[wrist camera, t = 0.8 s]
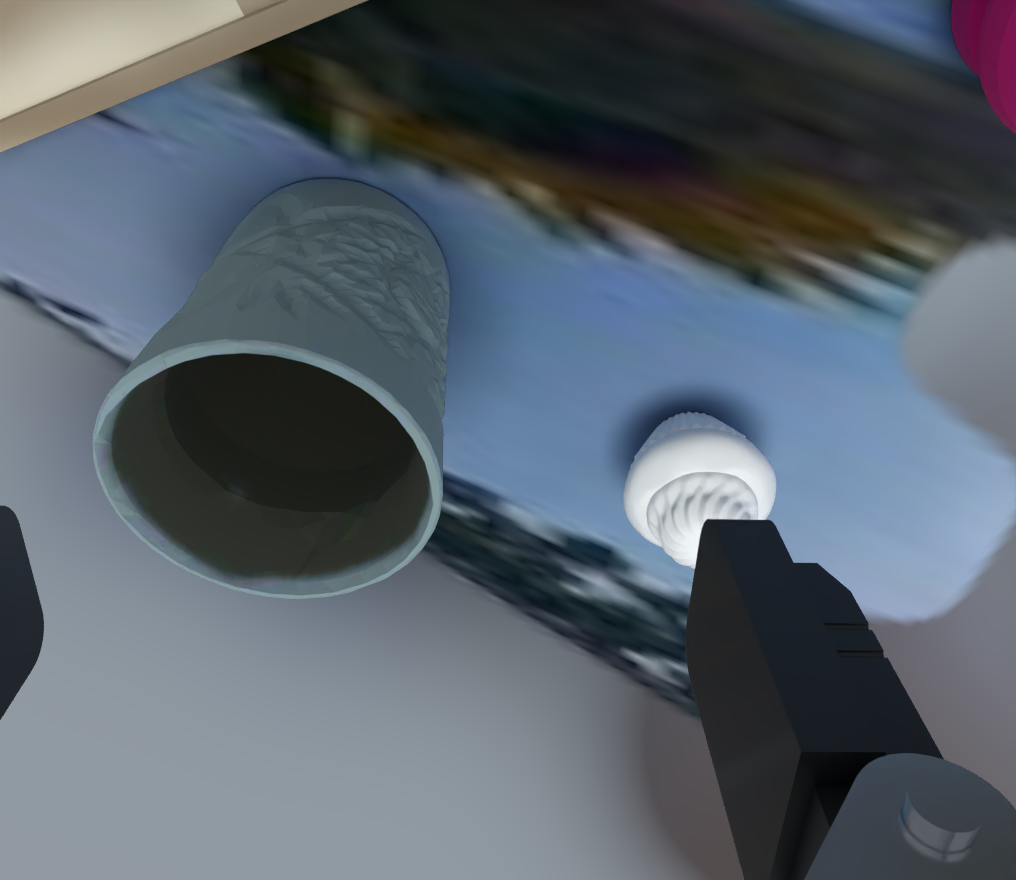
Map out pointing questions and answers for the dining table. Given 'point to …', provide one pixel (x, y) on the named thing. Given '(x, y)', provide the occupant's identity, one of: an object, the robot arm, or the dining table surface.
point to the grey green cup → (292, 401)
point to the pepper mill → (989, 50)
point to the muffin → (695, 482)
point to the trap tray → (122, 50)
